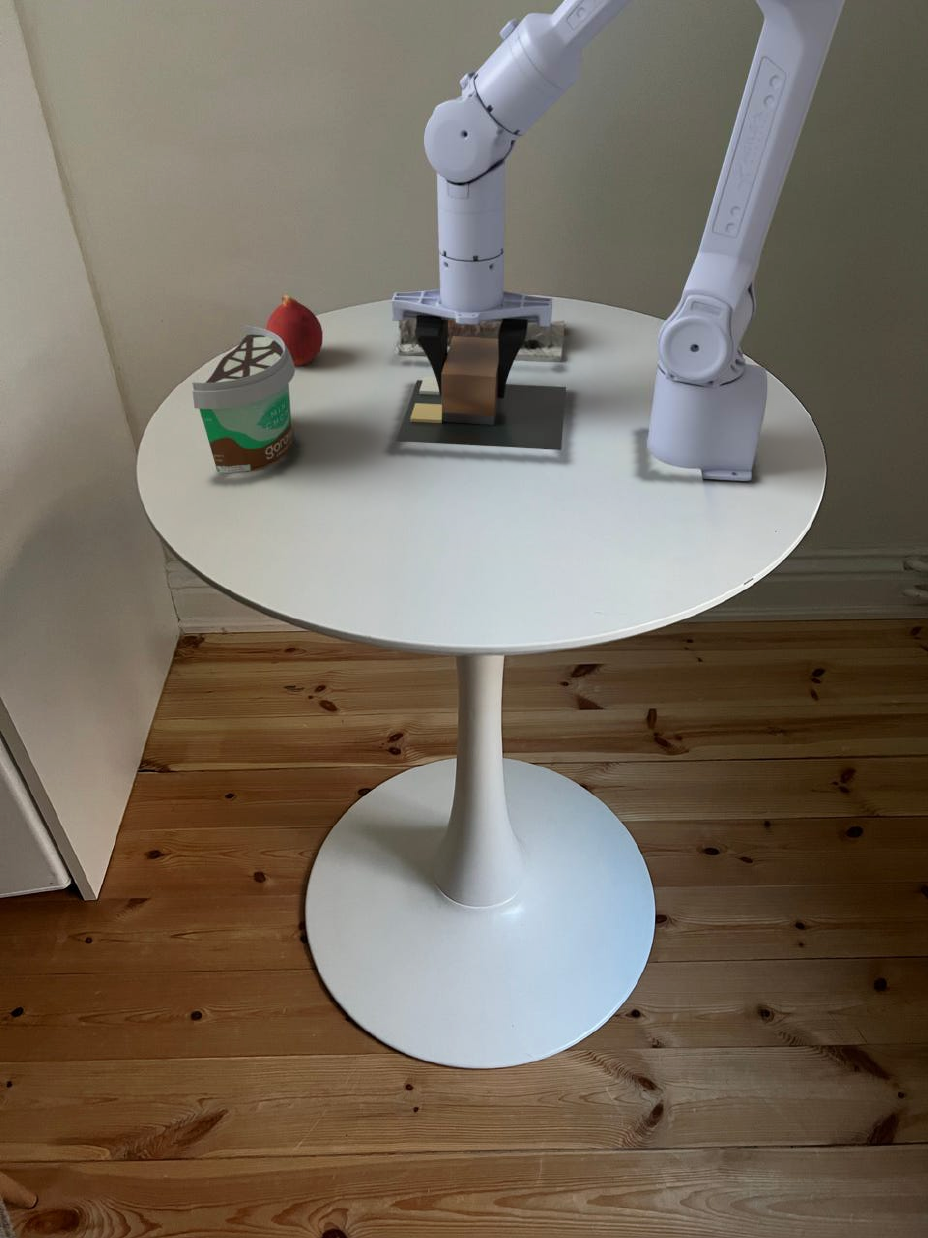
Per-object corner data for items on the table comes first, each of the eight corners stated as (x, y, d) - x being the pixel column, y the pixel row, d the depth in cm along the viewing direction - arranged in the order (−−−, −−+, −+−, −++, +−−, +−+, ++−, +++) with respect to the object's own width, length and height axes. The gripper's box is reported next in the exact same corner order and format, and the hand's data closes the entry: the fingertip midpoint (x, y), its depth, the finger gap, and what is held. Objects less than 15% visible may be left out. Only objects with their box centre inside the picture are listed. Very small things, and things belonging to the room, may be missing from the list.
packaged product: (391, 320, 96) (406, 284, 103) (394, 363, 99) (408, 325, 107) (564, 326, 94) (567, 289, 102) (561, 370, 97) (564, 331, 105)
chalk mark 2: (445, 408, 90) (445, 404, 89) (441, 423, 87) (441, 419, 87) (415, 406, 90) (415, 402, 90) (410, 421, 88) (410, 418, 87)
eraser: (501, 385, 93) (503, 338, 90) (493, 425, 87) (495, 376, 84) (452, 382, 93) (452, 335, 90) (441, 421, 87) (441, 373, 84)
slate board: (569, 393, 94) (569, 384, 93) (564, 461, 84) (565, 451, 83) (414, 386, 95) (413, 377, 94) (391, 452, 85) (391, 442, 85)
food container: (279, 497, 80) (261, 392, 73) (213, 489, 81) (189, 385, 74) (323, 426, 89) (311, 327, 82) (263, 421, 90) (246, 322, 83)
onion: (312, 351, 102) (303, 279, 96) (335, 371, 98) (326, 298, 93) (263, 364, 99) (251, 291, 94) (284, 385, 96) (273, 310, 90)
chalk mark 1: (453, 381, 94) (453, 377, 93) (449, 395, 91) (449, 391, 91) (424, 380, 94) (423, 376, 94) (419, 394, 92) (419, 390, 91)
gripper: (381, 263, 78) (391, 408, 87) (552, 269, 77) (544, 415, 85) (395, 235, 83) (403, 374, 92) (556, 240, 82) (548, 380, 91)
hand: (472, 391), depth 89 cm, fingers closed on eraser, 5 cm apart
